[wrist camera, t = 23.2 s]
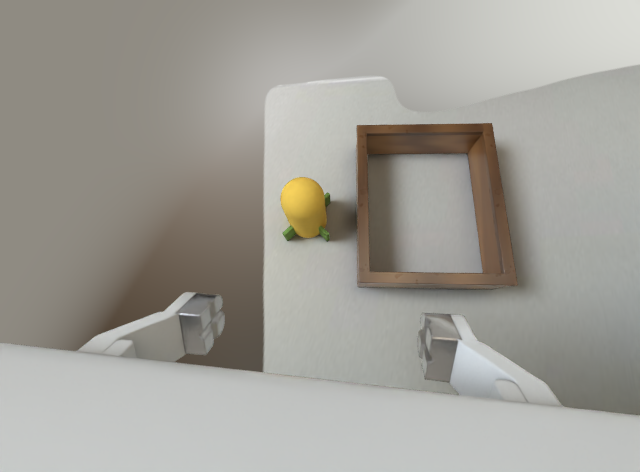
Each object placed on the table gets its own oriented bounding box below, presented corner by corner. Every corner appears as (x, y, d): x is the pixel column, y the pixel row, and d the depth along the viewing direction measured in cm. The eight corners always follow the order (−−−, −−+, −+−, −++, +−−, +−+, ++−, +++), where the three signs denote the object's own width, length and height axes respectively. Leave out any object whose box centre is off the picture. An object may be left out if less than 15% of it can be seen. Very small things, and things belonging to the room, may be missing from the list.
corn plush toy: (330, 200, 37) (328, 165, 29) (329, 241, 36) (327, 216, 27) (288, 200, 37) (274, 165, 29) (285, 241, 36) (270, 216, 28)
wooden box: (474, 146, 38) (492, 123, 34) (494, 290, 33) (518, 285, 29) (354, 147, 39) (357, 124, 34) (356, 288, 34) (358, 282, 29)
